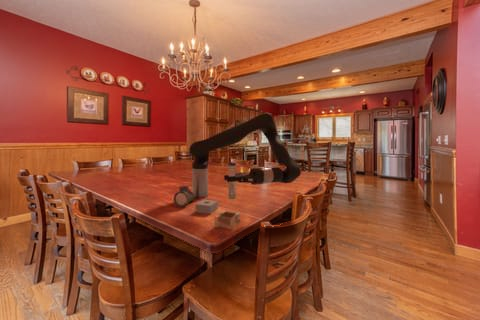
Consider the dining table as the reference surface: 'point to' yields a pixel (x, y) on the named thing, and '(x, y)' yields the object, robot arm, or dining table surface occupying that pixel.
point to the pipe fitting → (183, 196)
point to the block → (206, 206)
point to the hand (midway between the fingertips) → (225, 178)
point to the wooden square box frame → (227, 219)
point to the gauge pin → (232, 184)
